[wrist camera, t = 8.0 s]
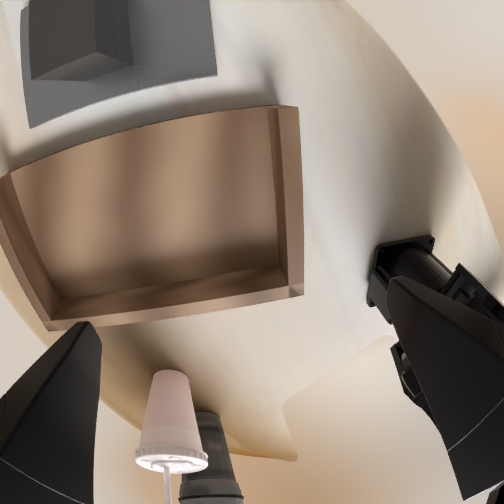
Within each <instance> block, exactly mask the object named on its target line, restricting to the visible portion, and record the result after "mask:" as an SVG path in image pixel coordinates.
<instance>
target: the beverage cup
mask: <svg viewBox="0 0 504 504" xmlns="http://www.w3.org/2000/svg"><path fill="white" fill-rule="evenodd" d="M195 417H196V422H197V427H198V431H199V436H200V440H201V444H202V449H203V452H205V453H206V454H207V455H208V459H207V460H208V466H207V467H206V468H205V469H203V470H201V471H198V472H193V473H182V484H181V485H180V493H179V494H180V498H178V499H179V502H180V504H243V498H244V496H242V495H241V490H240V488H239V485H238V483H237V482H236V479H235V476H234V472H233V468H232V464H231V460H230V456H229V452H228V448H227V444H226V440H225V435H224V431H223V427H222V425H221V422H220V417H219V416H218V415H217V414H215V413H212V412H195Z"/></svg>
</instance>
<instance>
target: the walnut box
mask: <svg viewBox="0 0 504 504" xmlns="http://www.w3.org/2000/svg"><path fill="white" fill-rule="evenodd" d="M0 244H1V246H2V248H3V251H4V253H5V255H6V257H7V259H8V261H9V263H10V266H11V268H12V270H13V272H14V274H15V276H16V277H17V279H18V281H19V283H20V285H21V287H22V289H23V291H24V292H25V294H26V296H27V298H28V299H29V301H30V303H31V305H32V306H33V308H34V310H35V311H36V313H37V314H38V316H39V318H40V319H41V321H42V322H43V324H44V326H45V327H46V329H47V330H48V331H61V330H69V329H70V328H71V327H72V326H73V325H74V324H75V323H76V322H79V321H89V322H90V323H91V324H92V325H93V327H103V326H113V325H121V324H130V323H138V322H146V321H153V320H161V319H168V318H175V317H182V316H189V315H195V314H202V313H208V312H214V311H220V310H226V309H232V308H238V307H243V306H249V305H255V304H260V303H265V302H271V301H276V300H281V299H286V298H291V297H296V296H301V295H304V219H303V185H302V162H301V143H300V127H299V112H298V107H293V106H286V105H270V106H258V107H248V108H239V109H231V110H224V111H217V112H210V113H204V114H198V115H192V116H187V117H181V118H176V119H171V120H166V121H162V122H157V123H153V124H148V125H144V126H140V127H136V128H132V129H128V130H125V131H121V132H117V133H114V134H110V135H107V136H104V137H100V138H97V139H94V140H91V141H88V142H85V143H82V144H79V145H76V146H73V147H70V148H67V149H65V150H62V151H59V152H56V153H54V154H51V155H49V156H46V157H44V158H41V159H39V160H36V161H34V162H32V163H29V164H27V165H25V166H22V167H20V168H18V169H16V170H14V171H11V172H9V173H7V174H6V175H4V176H2V177H1V178H0Z"/></svg>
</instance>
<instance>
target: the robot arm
mask: <svg viewBox="0 0 504 504" xmlns="http://www.w3.org/2000/svg"><path fill="white" fill-rule="evenodd" d="M434 242H435V238H434V237H433V236H431V235H426V236H421V237H416V238H411V239H406V240H401V241H396V242H391V243H386V244H381V245H379V246H378V247H377V248H376V250H375V256H374V263H373V269H372V272H371V278H370V283H369V289H368V298H367V304H368V306H369V307H374V306H377V308H378V309H379V311H380V312H381V314H382V315H383V317H384V318H385V319H386V321H387V322H388V323H389V324H390V325H391V324H393V325H394V328H395V330H396V333H397V336H398V338H399V341H398V342H397V343H396V344H394V345H393V346H392V347H391V348H390V350H391V353H392V355H393V359H394V362H395V365H396V368H397V371H398V374H399V378H400V381H401V384H402V387H403V391H404V393H405V394H406V395H407V396H408V397H409V398H410V399H411V400H412V401H413V402H414V403H415V404H416V405H417V406H419V407H421V408H422V409H423V410H424V411H425V412H426V414H427V415H428V416H429V417H430V418H431V420H432V421H433V423H434V424H435V426H436V427H437V429H438V430H439V432H440V434H441V436H442V439H443V441H444V444H445V447H446V449H447V451H448V455H449V458H450V461H451V464H452V467H453V470H454V473H455V476H456V479H457V482H458V485H459V489H460V492H461V495H462V498H463V500H464V501H465V500H467V499H469V498H472V497H474V496H476V495H478V494H480V493H482V492H484V491H486V490H488V489H490V488H492V487H493V486H495V485H497V484H499V483H500V482H502V481H503V482H502V483H501V484H500V485H499V486H497V487H496V488H495V489H494V490H493V491H491V492H490V494H489V497H488V500H487V503H486V504H504V305H503V304H502V302H501V301H500V300H499V299H498V298H497V297H496V296H495V295H494V294H493V293H492V292H491V291H490V290H489V289H488V288H487V287H486V286H485V285H484V284H483V283H482V282H481V281H480V280H479V279H478V278H477V277H476V276H474V275H473V274H472V273H471V272H470V271H469V270H467V269H466V268H465V267H464V266H463V265H461V264H460V263H459V264H458V265H457V267H456V268H455V269H456V270H455V271H454V273H452V272H451V271H450V270H449V269H448V268H447V267H446V266H445V265H444V264H443V263H442V262H441V261H440V260H439V259H438V258H436V257H435V256H434V255H433V254H432V250H433V246H434ZM381 250H382V252H381ZM101 355H102V343H101V340H100V338H99V336H98V334H97V333H96V331H95V329H94V327H93V325H92V324H91V323H90V322H89V321H79V322H76V323H75V324H74V325H73V326H72V327H71V328H70V329H69V330H68V331H67V332H66V333H65V334H64V335H62V336H61V337H60V338H59V339H58V340H57V341H56V342H55V343H54V344H53V345H52V346H51V347H50V348H49V349H48V350H47V351H46V352H45V353H44V354H43V355H42V356H41V357H40V358H39V359H38V360H37V361H36V362H35V363H34V364H33V365H32V366H31V367H30V368H29V369H28V370H27V371H26V372H25V373H24V374H23V375H22V376H21V377H20V378H19V379H18V380H17V381H16V382H15V383H14V384H13V386H12V387H11V388H10V389H9V390H8V391H7V392H6V394H4V395H3V396H2V397H1V399H0V504H94V501H93V469H94V446H95V432H96V419H97V410H98V401H99V393H100V373H101Z"/></svg>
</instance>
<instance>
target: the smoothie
mask: <svg viewBox="0 0 504 504" xmlns="http://www.w3.org/2000/svg"><path fill="white" fill-rule="evenodd" d="M207 459H208V455H207V454H206V453H205V452H203V449H202V444H201V440H200V436H199V431H198V427H197V422H196V417H195V412H194V407H193V402H192V397H191V391H190V386H189V380H188V377H187V376H186V375H185V374H184V373H182V372H180V371H177V370H171V369H166V370H160V371H158V372H156V373H155V374H154V376H153V380H152V384H151V389H150V393H149V398H148V402H147V407H146V412H145V417H144V422H143V427H142V432H141V438H140V444H139V447H138V448H137V449H135V461H136V463H137V464H139V465H140V466H142V467H144V468H146V469H150V470H153V471H158V472H163V473H164V489H165V504H172V496H171V479H170V473H176V474H177V473H179V474H180V473H193V472H198V471H201V470H203V469H205V468H206V467H207V466H208V460H207Z"/></svg>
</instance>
